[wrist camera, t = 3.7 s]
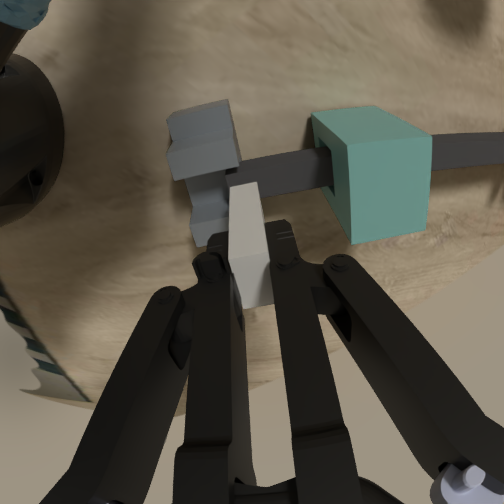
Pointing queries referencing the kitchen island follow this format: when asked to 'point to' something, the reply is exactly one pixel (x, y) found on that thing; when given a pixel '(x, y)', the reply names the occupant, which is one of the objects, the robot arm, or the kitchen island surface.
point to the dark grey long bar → (321, 169)
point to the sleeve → (375, 172)
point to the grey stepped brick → (204, 163)
